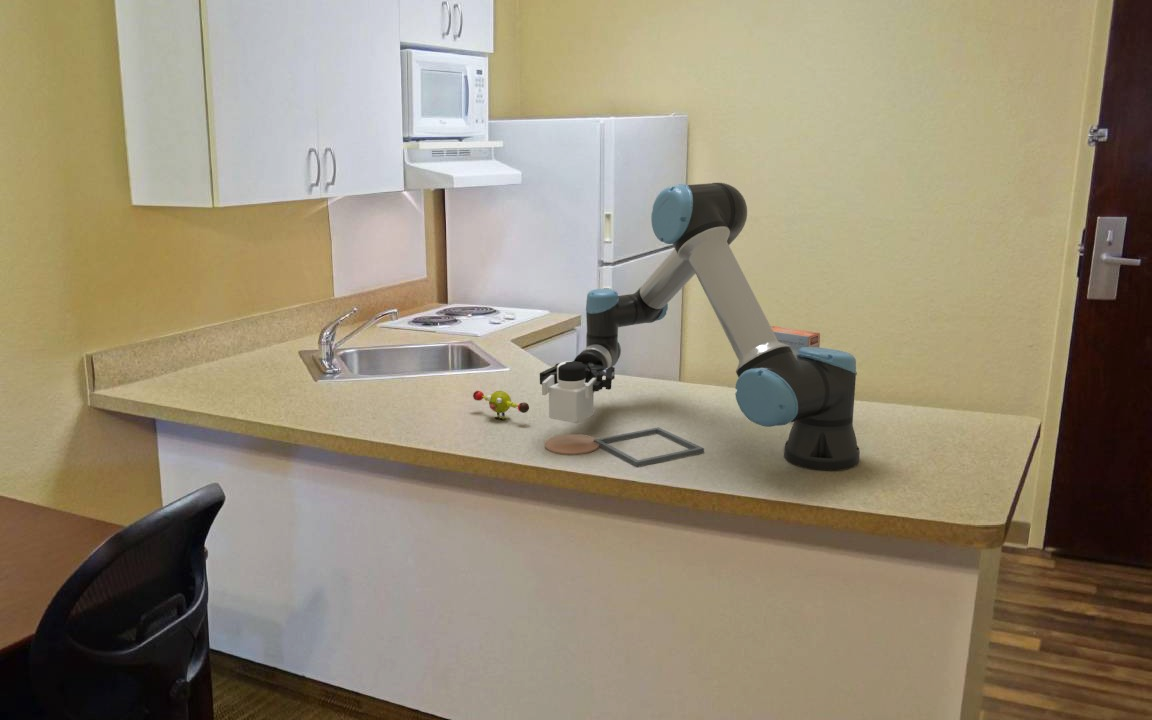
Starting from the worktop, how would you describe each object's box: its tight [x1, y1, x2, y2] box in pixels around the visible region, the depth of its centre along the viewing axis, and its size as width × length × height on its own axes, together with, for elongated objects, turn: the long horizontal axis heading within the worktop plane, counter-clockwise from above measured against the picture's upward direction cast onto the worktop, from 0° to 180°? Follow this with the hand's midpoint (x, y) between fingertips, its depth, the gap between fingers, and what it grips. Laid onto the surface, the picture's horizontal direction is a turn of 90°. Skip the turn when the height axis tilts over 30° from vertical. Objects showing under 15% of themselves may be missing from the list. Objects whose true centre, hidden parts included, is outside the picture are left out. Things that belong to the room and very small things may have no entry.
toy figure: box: [472, 390, 530, 421], centre depth 227 cm, size 18×6×7 cm, turn 48°
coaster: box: [544, 433, 600, 456], centre depth 208 cm, size 12×12×1 cm
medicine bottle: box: [548, 360, 595, 424], centre depth 205 cm, size 7×7×12 cm
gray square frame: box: [594, 427, 705, 468], centre depth 206 cm, size 17×17×1 cm
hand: (565, 390), depth 201 cm, fingers closed on medicine bottle, 9 cm apart
